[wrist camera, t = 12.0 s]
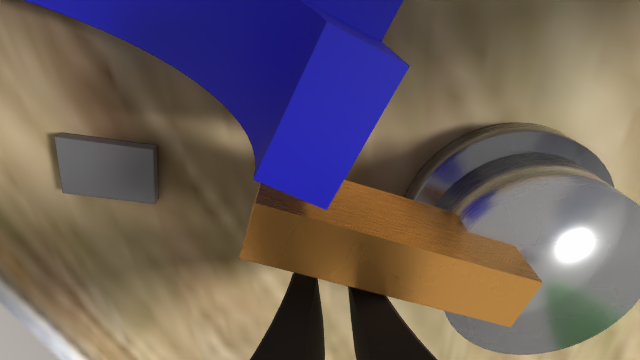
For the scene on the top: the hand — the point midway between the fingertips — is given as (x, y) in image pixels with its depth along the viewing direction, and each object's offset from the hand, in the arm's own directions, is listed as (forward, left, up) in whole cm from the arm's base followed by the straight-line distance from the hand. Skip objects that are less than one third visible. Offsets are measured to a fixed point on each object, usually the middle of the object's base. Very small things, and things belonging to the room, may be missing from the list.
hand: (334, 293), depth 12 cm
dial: (-3, -2, -2) cm, 4 cm away
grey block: (+8, -2, -3) cm, 8 cm away
